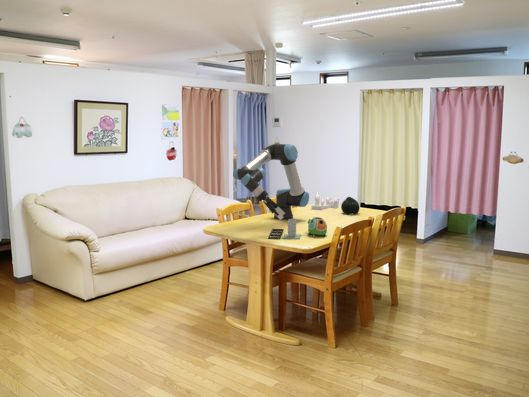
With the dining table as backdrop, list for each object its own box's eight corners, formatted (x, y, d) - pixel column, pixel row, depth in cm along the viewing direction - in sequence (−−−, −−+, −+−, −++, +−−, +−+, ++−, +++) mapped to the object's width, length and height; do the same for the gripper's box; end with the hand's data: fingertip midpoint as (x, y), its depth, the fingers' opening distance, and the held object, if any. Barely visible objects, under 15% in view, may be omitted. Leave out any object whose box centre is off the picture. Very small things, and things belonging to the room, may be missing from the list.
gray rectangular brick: (287, 236, 322) (288, 220, 320) (288, 235, 327) (288, 219, 325) (295, 237, 321) (295, 220, 320) (296, 235, 326) (296, 219, 325)
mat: (283, 238, 319) (283, 237, 319) (284, 234, 330) (284, 234, 330) (299, 239, 318) (299, 238, 318) (300, 235, 329) (300, 234, 329)
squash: (359, 209, 397) (359, 194, 406) (341, 209, 400) (341, 194, 408) (359, 218, 409) (359, 203, 417) (341, 218, 412) (341, 203, 420)
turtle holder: (317, 231, 343) (317, 214, 341) (330, 236, 326) (331, 219, 324) (301, 232, 338) (301, 215, 336) (314, 238, 321) (314, 220, 319)
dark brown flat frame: (272, 230, 344) (272, 228, 344) (283, 230, 343) (283, 229, 343) (268, 238, 319) (268, 237, 319) (280, 239, 318) (280, 237, 318)
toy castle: (310, 209, 429) (310, 191, 427) (326, 206, 448) (326, 188, 445) (324, 211, 420) (324, 192, 417) (339, 207, 438) (340, 190, 436)
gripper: (258, 194, 335) (280, 216, 336) (253, 200, 310) (277, 224, 311) (266, 187, 333) (288, 209, 334) (262, 192, 309) (285, 216, 310)
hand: (282, 216), depth 323 cm, fingers open, 13 cm apart
